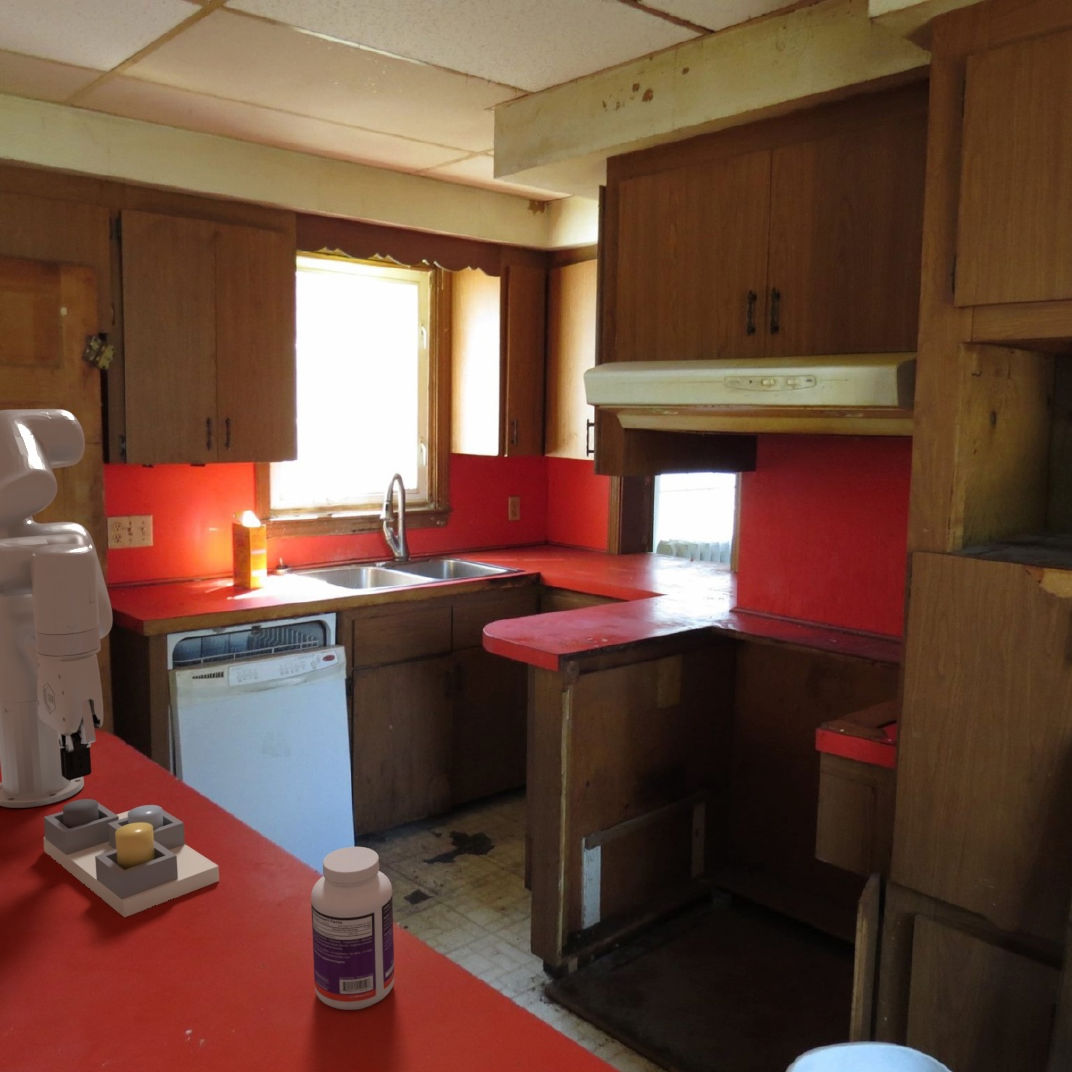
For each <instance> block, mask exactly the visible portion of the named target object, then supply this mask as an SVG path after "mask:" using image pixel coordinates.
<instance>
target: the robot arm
mask: <svg viewBox="0 0 1072 1072" xmlns="http://www.w3.org/2000/svg"><path fill="white" fill-rule="evenodd" d="M83 430H84V429H83V427H82V426H81V423H80V422H79V420H78V419H77V417H76V416H75V415H74V414H73V413H72V412H70V411H69V410H65V409H61V408H58V409H57V408H44V409H43V408H38V409H37V408H36V409H35V408H34V409H31V408H30V409H26V408H25V409H24V408H23V409H21V408H20V409H1V410H0V771H1V772H0V773H1V782H0V807H4V808H13V809H25V808H34V807H43V806H46V805H50V804H55V803H58V802H61V801H64V800H66V799H68V798H71V797H73V796H75V795H76V794H78V793H79V792H80V791H81V790H83V787H84V785H85V780H84V777H87V776H90V775H91V774H92V760H91V759H92V758H91V746H92V743H95V742H96V741H97V738H96V737H97V736H96V733H95V732H96V730H95V729H97V730H98V729H100V728H102V726H103V724H104V700H103V691H102V690H103V689H102V682H101V674H100V673H101V672H100V667H99V661H98V656H97V653H99V652H100V651H101V645H102V644H101V640H102V639H104V638H105V637H106V636H108V634H109V633H110V631H111V630H112V627H113V610H112V604H111V600H110V596H109V592H108V588H107V585H106V582H105V578H104V575H103V571H102V566H101V563H100V560H99V557H98V554H97V549H96V546H95V544H94V543H95V542H94V540H93V538H92V535H91V534H90V532H89V530H87V529H86V528H85V527H84V526H83V525H82V524H80V523H77V522H71V521H58V522H57V521H56V522H45V523H40V522H37V521H35V520H34V517H33V516H34V515H37V514H38V513H40V512H41V511H43V510H45V509H46V508H47V507H49V505H51V504H52V503H53V501H54V499H56V495H57V493H58V483H57V478H56V476H55V475H54V472H53V471H54V470H53V469H58V468H65V467H72V466H74V465H77V464H78V463H79V462H80V461H81V460H82V458H83V456H84V454H85V448H86V443H85V442H86V441H85V440H86V439H85V434H84V431H83Z"/></svg>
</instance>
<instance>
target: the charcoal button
mask: <svg viewBox="0 0 1072 1072" xmlns="http://www.w3.org/2000/svg"><path fill="white" fill-rule="evenodd" d="M98 803H99V802H98V801H97V800H95V799H92V798H83V799H82V798H81V799H76V800H73V801H70V802H68V803H66V804H64V805H63V806H62V811H63V819H64V825H65V826H66V827H68V828H69V829H70V828H73V827H76V826H79V825H83V824H86V823H89V822H92V821H96V820H99V814H98Z"/></svg>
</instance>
